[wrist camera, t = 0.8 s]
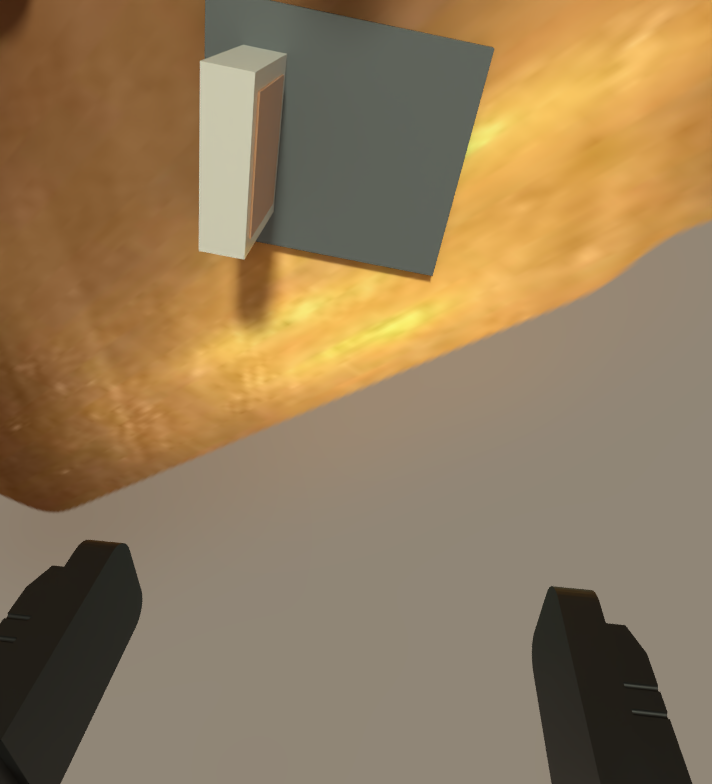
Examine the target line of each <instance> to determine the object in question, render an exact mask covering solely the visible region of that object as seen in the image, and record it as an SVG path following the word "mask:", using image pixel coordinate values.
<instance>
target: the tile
mask: <svg viewBox="0 0 712 784" xmlns="http://www.w3.org/2000/svg"><path fill="white" fill-rule="evenodd" d="M286 60H287V54H286V53H281V52H276V51H271V50H266V49H262V48H257V47H252V46H247V45H241V46H238V47H236V48H233V49H230V50H228V51H225V52H222V53H220V54H217V55H214V56H212V57H209V58H206V59H204V60H201V61H200V151H199V251H203V252H208V253H213V254H218V255H223V256H228V257H233V258H239V259H245V258H246V256H247V255H248V253H249V251H250V250H251V248H252V246H253V245H254V243H255V241H256V240H257V238H258V236H259V235H260V233H261V231H262V230H263V228H264V227H265V225H266V223H267V222H268V220H269V218H270V217H271V215H272V213H273V212H274V200H275V189H276V177H277V165H278V154H279V142H280V130H281V119H282V107H283V95H284V84H285V72H286Z"/></svg>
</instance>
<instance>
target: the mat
mask: <svg viewBox="0 0 712 784" xmlns="http://www.w3.org/2000/svg"><path fill="white" fill-rule="evenodd" d="M241 45H247V46H252V47H257V48H262V49H266V50H271V51H276V52H281V53H286V54H287V60H286V72H285V84H284V95H283V107H282V119H281V130H280V142H279V154H278V165H277V177H276V189H275V200H274V212H273V213H272V215H271V217H270V218H269V220H268V222H267V223H266V225H265V227H264V228H263V230H262V231H261V233H260V235H259V236H258V238H257V240H256V241H257V242H262V243H267V244H272V245H277V246H282V247H287V248H292V249H298V250H303V251H308V252H313V253H318V254H323V255H328V256H333V257H338V258H343V259H349V260H354V261H359V262H364V263H369V264H374V265H379V266H384V267H389V268H394V269H400V270H405V271H410V272H415V273H420V274H425V275H430V276H433V272H434V268H435V265H436V261H437V257H438V254H439V250H440V246H441V243H442V239H443V235H444V232H445V228H446V224H447V221H448V217H449V213H450V210H451V206H452V202H453V199H454V195H455V191H456V188H457V184H458V180H459V177H460V173H461V169H462V166H463V162H464V158H465V154H466V151H467V147H468V143H469V140H470V136H471V132H472V129H473V125H474V121H475V118H476V114H477V110H478V107H479V103H480V99H481V96H482V92H483V88H484V85H485V81H486V77H487V74H488V70H489V66H490V63H491V59H492V55H493V52H494V48H493V47H489V46H484V45H479V44H475V43H470V42H465V41H460V40H456V39H451V38H446V37H442V36H437V35H432V34H427V33H423V32H418V31H413V30H408V29H404V28H399V27H394V26H389V25H385V24H380V23H375V22H370V21H366V20H361V19H356V18H351V17H347V16H342V15H337V14H332V13H328V12H323V11H318V10H313V9H309V8H304V7H299V6H294V5H290V4H285V3H280V2H275V1H271V0H205V59H206V58H209V57H212V56H214V55H217V54H220V53H222V52H225V51H228V50H230V49H233V48H236V47H238V46H241Z"/></svg>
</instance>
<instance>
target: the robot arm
mask: <svg viewBox="0 0 712 784" xmlns="http://www.w3.org/2000/svg"><path fill="white" fill-rule="evenodd" d="M141 608H142V591H141V588H140V584H139V581H138V578H137V574H136V570H135V567H134V564H133V560H132V557H131V553H130V550H129V547H128V546H127V545H126V544H124V543H115V542H105V541H95V540H85V541H83V542H82V543H81V544H80V545H79V546H78V547H77V548H76V550H75V551H74V553H73V554H72V556H71V557H70V559H69V560H68V562H67V563H66V565H65V566H64V567H60V566H51V567H50V568H49V569H48V570H47V571H45V572H44V573H43V574H42V575H40V576H39V577H38V578H37V579H36V580H34V581H33V582H32V583H31V584H29V585H28V586H27V587H26V588H25V590H24V591H23V593H22V594H21V595H20V597H19V598H18V599H17V601H16V602H15V604H14V605H13V606H12V608H11V609H10V611H9V612H8V616H7V618H6V619H5V618H4V619H3V621H2V622H1V623H0V784H60V783H61V781H62V779H63V777H64V775H65V773H66V771H67V769H68V767H69V765H70V763H71V761H72V758H73V756H74V754H75V752H76V750H77V748H78V746H79V744H80V742H81V740H82V738H83V736H84V734H85V731H86V729H87V727H88V725H89V723H90V721H91V719H92V717H93V715H94V713H95V710H96V709H97V706H98V704H99V702H100V700H101V698H102V696H103V694H104V692H105V690H106V687H107V686H108V684H109V682H110V679H111V677H112V675H113V673H114V671H115V669H116V667H117V665H118V663H119V661H120V659H121V657H122V654H123V652H124V650H125V648H126V646H127V644H128V642H129V640H130V638H131V636H132V634H133V631H134V630H135V628H136V625H137V623H138V620H139V617H140V612H141ZM532 664H533V673H534V679H535V685H536V691H537V697H538V703H539V710H540V716H541V722H542V728H543V733H544V740H545V746H546V752H547V758H548V764H549V770H550V776H551V782H552V784H692V782H691V779H690V776H689V773H688V770H687V767H686V764H685V761H684V759H683V756H682V753H681V750H680V748H679V744H678V741H677V738H676V736H675V733H674V730H673V727H672V724H671V721H670V719H668V718H667V710H666V707H665V704H664V701H663V699H662V695H661V693H660V692H659V691H658V684H657V681H656V678H655V675H654V673H653V670H652V667H651V664H650V661H649V658H648V656H647V653H646V652H645V651H644V649H643V648H642V647H641V645H640V644H639V643H638V641H637V640H636V639H635V637H634V636H633V635H632V634H631V632H630V631H629V630H628V628H627V627H626V626H625V625H618V624H617V625H616V624H608V623H606V622H605V619H604V616H603V613H602V609H601V606H600V602H599V600H598V597H597V595H596V593H595V592H594V591H592V590H584V589H574V588H563V587H553V586H551V587H550V588H549V589H548V591H547V594H546V597H545V600H544V603H543V607H542V610H541V613H540V616H539V619H538V622H537V626H536V629H535V632H534V636H533V643H532Z"/></svg>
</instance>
